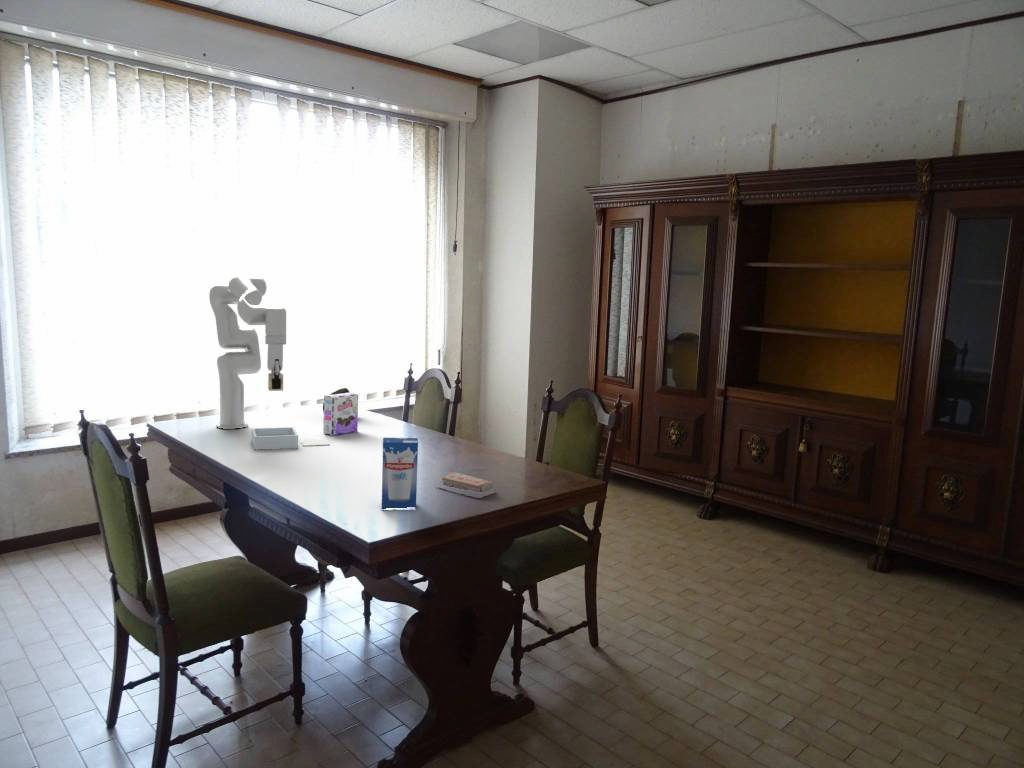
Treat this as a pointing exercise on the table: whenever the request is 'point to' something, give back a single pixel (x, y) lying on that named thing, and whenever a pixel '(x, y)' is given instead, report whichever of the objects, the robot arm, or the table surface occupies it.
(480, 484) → the packaged product
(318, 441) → the mat
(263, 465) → the table surface
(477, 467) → the table surface
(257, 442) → the square storage bin
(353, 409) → the candy box
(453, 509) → the table surface
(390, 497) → the milk carton
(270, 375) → the birch block
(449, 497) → the table surface
